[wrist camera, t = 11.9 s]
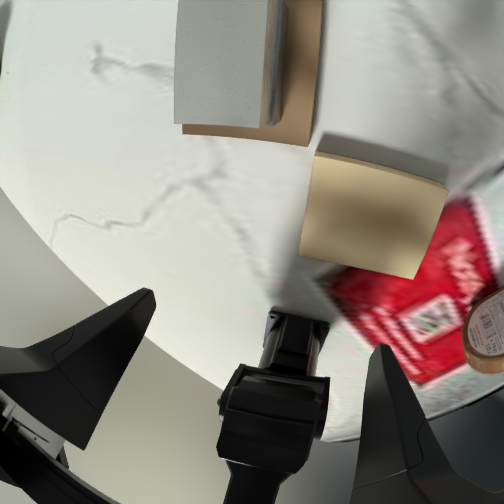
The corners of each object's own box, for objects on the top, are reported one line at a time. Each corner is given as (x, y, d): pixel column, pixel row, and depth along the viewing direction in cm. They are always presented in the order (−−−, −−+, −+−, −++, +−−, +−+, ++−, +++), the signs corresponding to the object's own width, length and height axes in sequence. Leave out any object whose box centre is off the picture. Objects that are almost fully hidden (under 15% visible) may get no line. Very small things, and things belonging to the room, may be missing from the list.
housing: (289, 9, 12) (273, -17, 8) (280, 121, 16) (262, 132, 12) (213, 10, 12) (176, -7, 8) (208, 115, 17) (171, 127, 13)
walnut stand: (309, 142, 18) (307, 147, 17) (191, 130, 19) (182, 134, 18) (322, 0, 11) (322, -7, 10) (197, 1, 13) (188, -3, 12)
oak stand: (409, 268, 21) (412, 279, 20) (299, 244, 23) (297, 255, 22) (441, 183, 16) (448, 190, 15) (315, 150, 18) (314, 155, 17)
